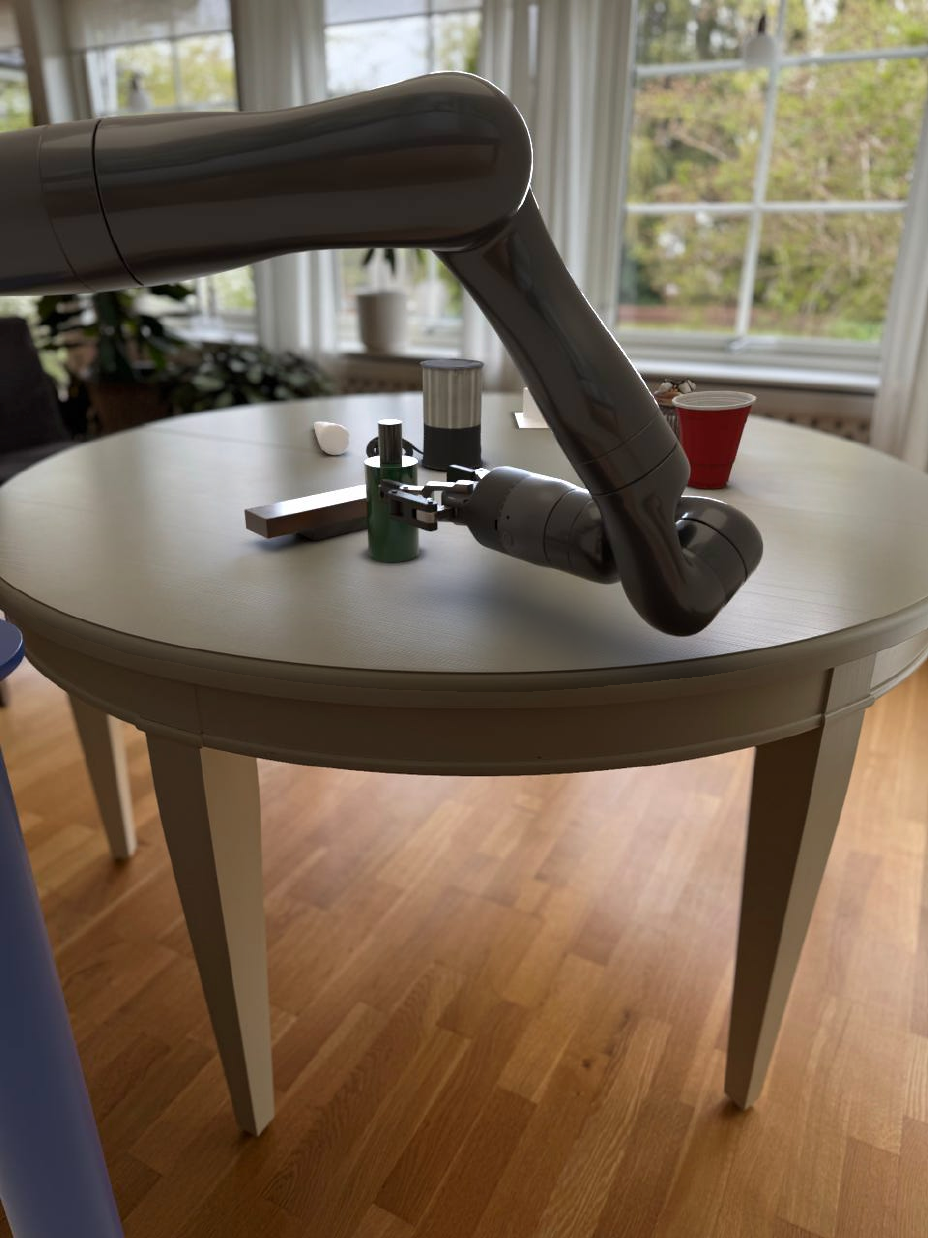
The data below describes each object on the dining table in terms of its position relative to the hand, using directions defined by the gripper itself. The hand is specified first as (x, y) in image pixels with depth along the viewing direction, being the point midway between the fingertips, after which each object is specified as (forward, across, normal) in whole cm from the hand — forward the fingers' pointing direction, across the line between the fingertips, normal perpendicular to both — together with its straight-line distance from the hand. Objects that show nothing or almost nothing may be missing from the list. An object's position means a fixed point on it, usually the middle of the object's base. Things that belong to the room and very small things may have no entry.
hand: (416, 482), depth 85 cm
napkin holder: (+45, -67, +9) cm, 81 cm away
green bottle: (+4, 0, +9) cm, 10 cm away
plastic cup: (-1, -50, +9) cm, 51 cm away
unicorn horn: (+56, -25, +9) cm, 62 cm away
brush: (+15, +1, +9) cm, 18 cm away
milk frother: (+33, -28, +9) cm, 44 cm away
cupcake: (+19, -71, +9) cm, 74 cm away
